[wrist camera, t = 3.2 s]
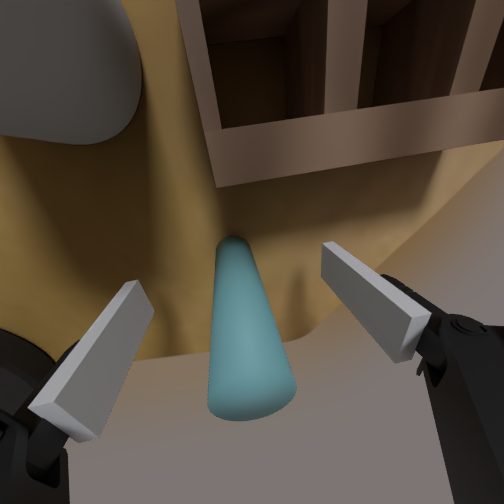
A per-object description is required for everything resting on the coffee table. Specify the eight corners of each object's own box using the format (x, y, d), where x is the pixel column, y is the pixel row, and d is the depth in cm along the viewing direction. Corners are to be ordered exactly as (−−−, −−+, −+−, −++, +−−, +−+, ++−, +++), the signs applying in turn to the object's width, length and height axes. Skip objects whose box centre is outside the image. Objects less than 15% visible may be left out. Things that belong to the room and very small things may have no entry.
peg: (220, 270, 16) (219, 428, 7) (212, 239, 15) (196, 384, 5) (252, 263, 17) (297, 408, 7) (248, 233, 15) (295, 360, 6)
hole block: (217, 178, 13) (216, 188, 9) (176, -18, 9) (132, -192, 5) (447, 140, 14) (547, 132, 10) (504, -48, 10) (721, -208, 6)
